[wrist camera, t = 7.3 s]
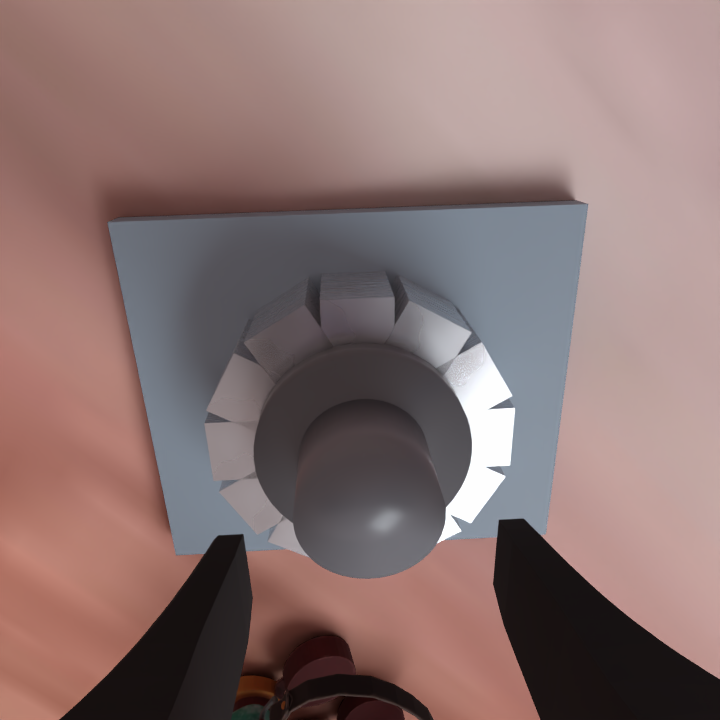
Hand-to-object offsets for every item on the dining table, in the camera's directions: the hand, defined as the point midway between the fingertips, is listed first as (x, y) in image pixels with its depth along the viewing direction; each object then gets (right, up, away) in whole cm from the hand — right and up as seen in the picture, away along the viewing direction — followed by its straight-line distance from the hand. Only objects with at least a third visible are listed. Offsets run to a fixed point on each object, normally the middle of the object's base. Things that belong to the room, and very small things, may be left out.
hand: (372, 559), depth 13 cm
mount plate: (0, +4, +9) cm, 9 cm away
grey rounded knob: (0, +3, +7) cm, 8 cm away
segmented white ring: (0, +4, +9) cm, 9 cm away
